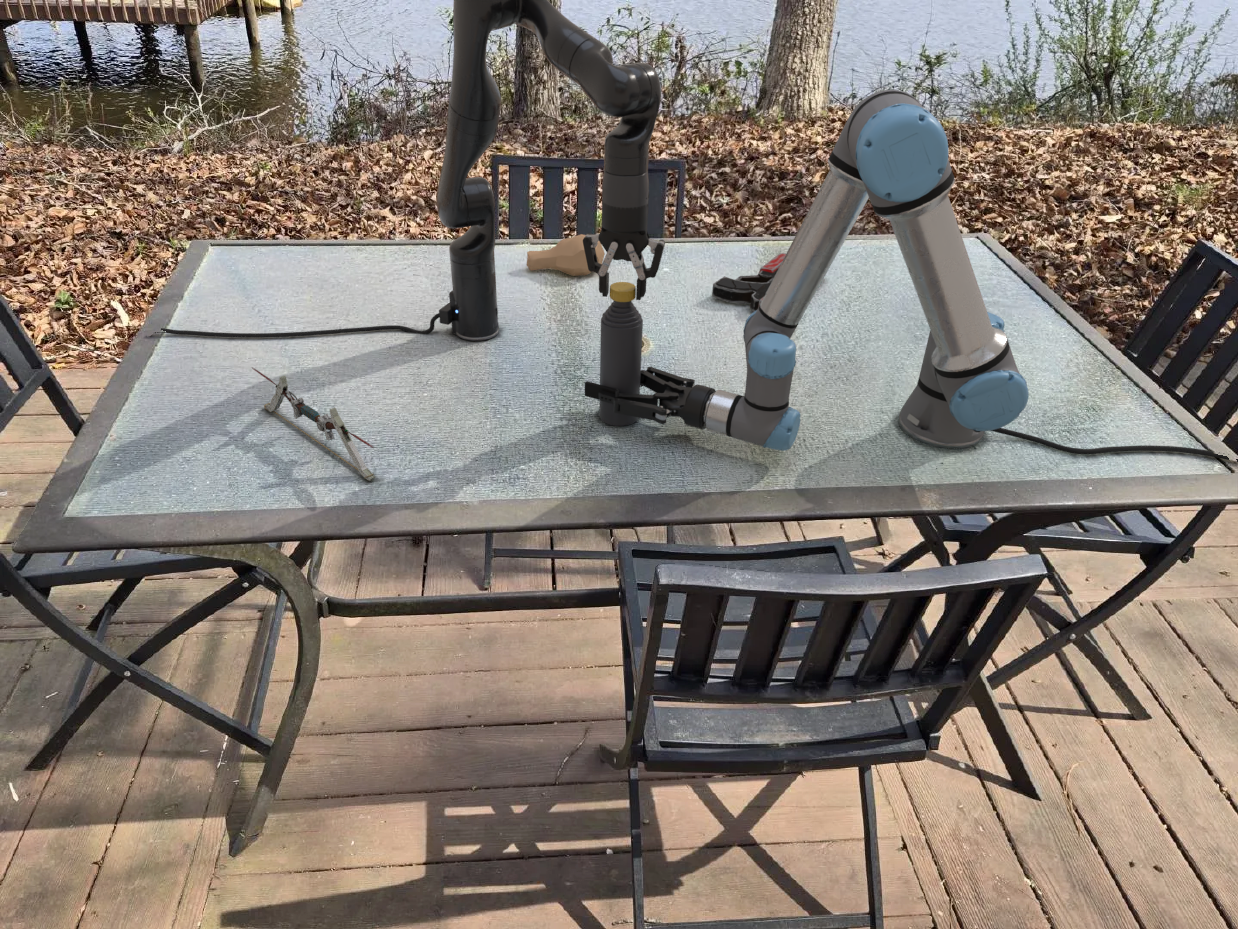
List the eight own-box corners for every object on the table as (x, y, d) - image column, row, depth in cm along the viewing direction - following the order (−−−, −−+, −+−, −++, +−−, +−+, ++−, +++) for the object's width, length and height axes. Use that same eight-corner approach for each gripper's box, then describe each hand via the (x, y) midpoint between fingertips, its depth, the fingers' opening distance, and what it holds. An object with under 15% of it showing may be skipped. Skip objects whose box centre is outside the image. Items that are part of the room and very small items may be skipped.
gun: (708, 284, 207) (784, 305, 199) (760, 245, 229) (831, 262, 221) (706, 302, 209) (781, 323, 201) (758, 261, 231) (828, 278, 223)
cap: (622, 304, 148) (622, 293, 147) (604, 296, 151) (604, 285, 150) (640, 297, 151) (641, 287, 150) (623, 289, 154) (623, 279, 153)
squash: (606, 279, 220) (601, 247, 214) (527, 286, 222) (521, 255, 215) (606, 257, 228) (602, 226, 222) (531, 264, 229) (524, 233, 223)
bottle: (592, 411, 166) (594, 285, 152) (627, 403, 168) (631, 278, 154) (610, 429, 160) (613, 300, 146) (645, 421, 163) (651, 293, 149)
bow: (385, 483, 144) (378, 432, 138) (376, 488, 143) (368, 436, 137) (265, 401, 165) (254, 353, 160) (256, 404, 164) (245, 356, 158)
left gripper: (576, 201, 140) (576, 301, 149) (665, 209, 138) (660, 309, 147) (586, 188, 146) (586, 284, 155) (672, 195, 144) (666, 292, 153)
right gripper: (686, 455, 149) (569, 421, 157) (729, 403, 164) (620, 374, 172) (689, 417, 144) (568, 384, 153) (733, 367, 160) (621, 339, 168)
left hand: (622, 296), depth 151 cm, fingers open, 5 cm apart
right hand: (596, 379), depth 162 cm, fingers closed on bottle, 7 cm apart
